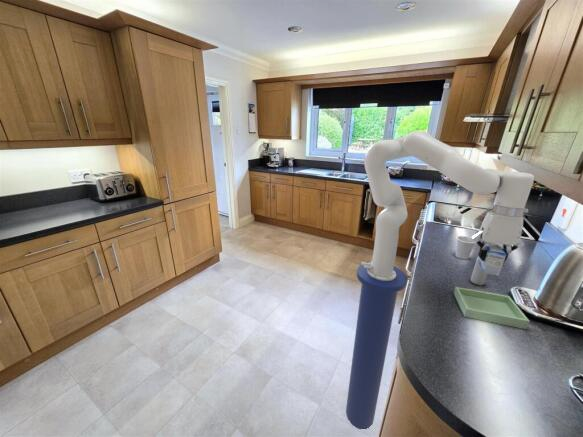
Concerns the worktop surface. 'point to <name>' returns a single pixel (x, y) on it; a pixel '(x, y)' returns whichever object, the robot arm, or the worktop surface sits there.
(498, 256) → the medicine box
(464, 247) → the dixie cup
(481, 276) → the beverage can
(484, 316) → the tray
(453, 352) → the worktop surface
